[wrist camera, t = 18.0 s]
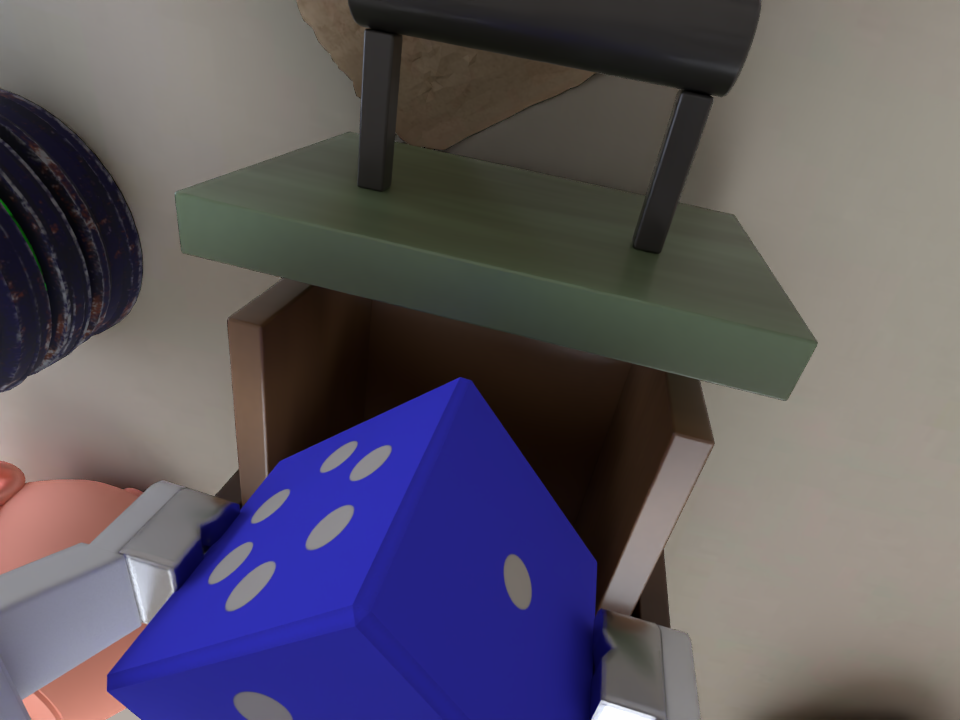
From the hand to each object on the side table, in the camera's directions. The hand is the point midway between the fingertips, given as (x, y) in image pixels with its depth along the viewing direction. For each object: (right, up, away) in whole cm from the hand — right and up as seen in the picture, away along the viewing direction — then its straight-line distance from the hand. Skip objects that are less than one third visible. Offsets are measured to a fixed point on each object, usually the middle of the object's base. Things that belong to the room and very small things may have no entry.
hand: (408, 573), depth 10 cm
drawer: (+2, +6, +8) cm, 10 cm away
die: (0, +1, +2) cm, 2 cm away
